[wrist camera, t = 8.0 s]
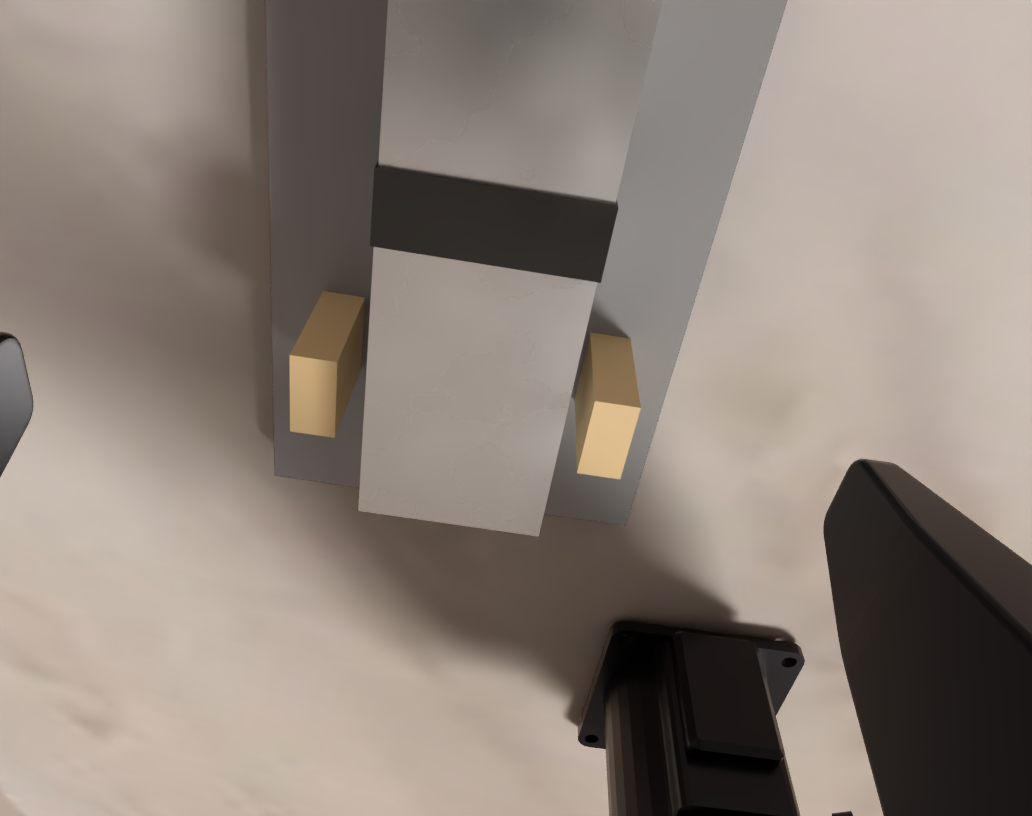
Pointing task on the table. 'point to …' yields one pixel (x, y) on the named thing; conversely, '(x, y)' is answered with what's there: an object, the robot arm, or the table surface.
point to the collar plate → (618, 298)
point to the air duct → (490, 244)
